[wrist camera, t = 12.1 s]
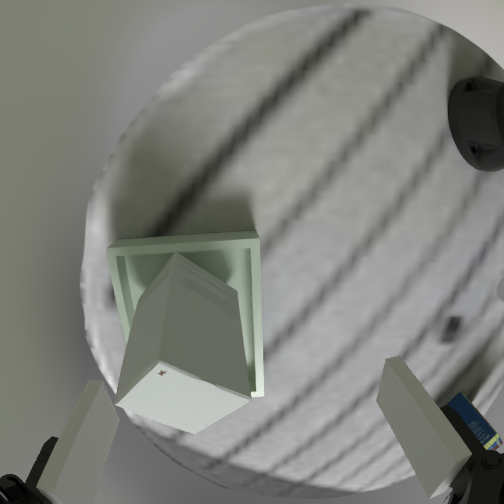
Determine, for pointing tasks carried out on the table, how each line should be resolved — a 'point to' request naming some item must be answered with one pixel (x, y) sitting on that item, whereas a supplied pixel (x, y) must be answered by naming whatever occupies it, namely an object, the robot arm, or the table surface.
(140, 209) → the table surface
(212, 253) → the green tray
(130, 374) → the supplement box
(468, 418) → the protein box
